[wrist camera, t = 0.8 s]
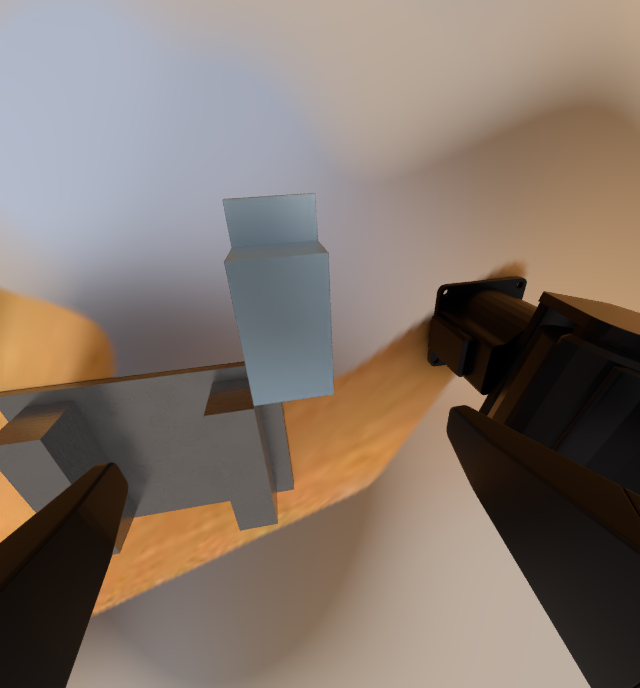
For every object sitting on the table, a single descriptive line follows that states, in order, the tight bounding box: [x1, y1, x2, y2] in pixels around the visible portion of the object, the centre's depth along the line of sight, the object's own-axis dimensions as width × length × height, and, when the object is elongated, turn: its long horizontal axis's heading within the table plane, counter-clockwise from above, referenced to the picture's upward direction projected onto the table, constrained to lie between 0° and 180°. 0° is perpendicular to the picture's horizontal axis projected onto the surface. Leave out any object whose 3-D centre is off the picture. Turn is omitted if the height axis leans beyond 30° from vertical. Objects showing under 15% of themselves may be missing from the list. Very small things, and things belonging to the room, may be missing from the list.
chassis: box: [0, 361, 294, 555], centre depth 22 cm, size 18×14×4 cm
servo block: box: [223, 193, 334, 406], centre depth 16 cm, size 11×4×7 cm, turn 4°
